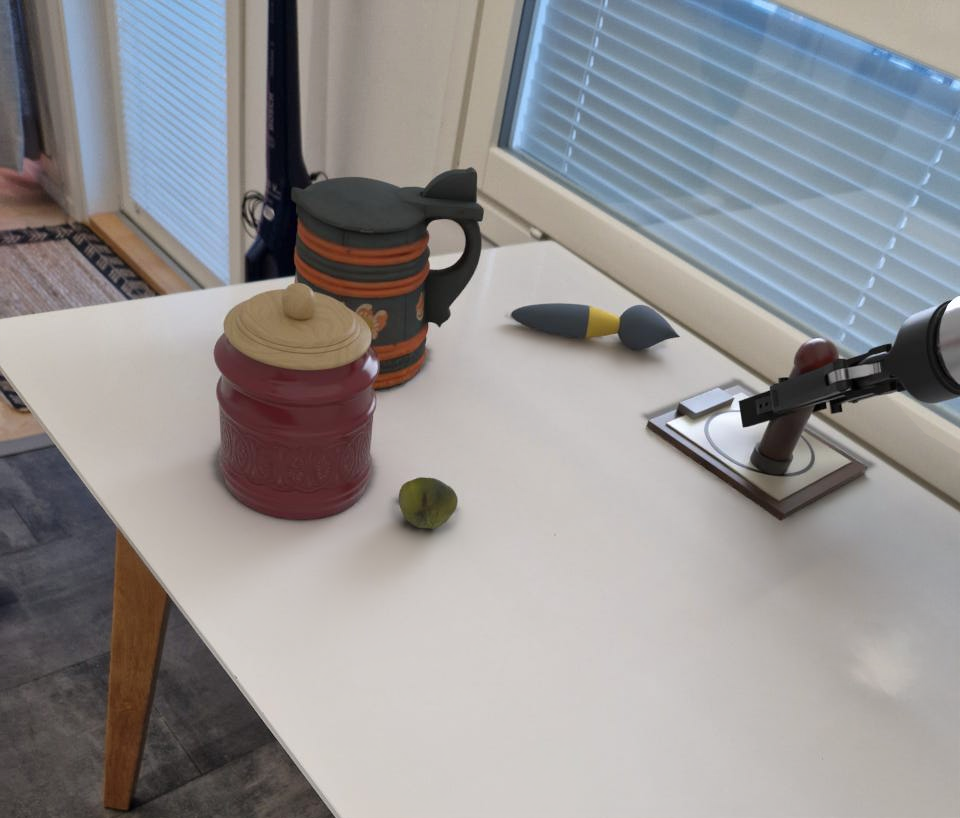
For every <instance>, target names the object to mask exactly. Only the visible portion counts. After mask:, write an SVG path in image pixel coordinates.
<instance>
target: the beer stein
mask: <svg viewBox="0 0 960 818" xmlns="http://www.w3.org/2000/svg"><path fill="white" fill-rule="evenodd" d="M477 193H478V172H477V171H476V169H475V168H474V167H472V166H470V167H468V168H459V169H458V168H455V169H450V170H446V171H443V172H442V173H440V174H438V175H436V176H435V177H433V178H432V179H431V180H430V181H429V182H428V183H427V185H426V186H425V187H421V186H402V187H400V186H397V185H396V184H393V183H389V182H387V181H382V180H378V179H374V178H370V177H364V176H343V177H335V178H328V179H324V180H319V181H317V182H314V183H312V184H309V185H308V186H306V187H305V188H304V189H303V188H299V187H296V186H294V187H292V188H291V190H290V196H291V197H290V199H291V201H292V202H294V203H295V204H296V206H295V213H296V215H297V216H298V217H297V231H296V239H295V246H294V254H293V261H294V265H295V274H294V283H302V284H305V285H307V286H309V287H310V288H311V289H312V290H313V292H317V293H321V294H324V295H327V296H329V297H332V298H334V299H336V300H338V301H339V302H341V303H342V304H344V305H345V306H346V307H347V308H349V309H350V310H352V311H354V312H355V313H356V314H358V315H359V316H360V317H361V318H362V319H363V320H364V321H365V322H366V323H367V325H368V326H369V328H370V331H371V344H370V345H371V346H372V347H373V348H374V350H375V351H376V353H377V355H378V358H379V362H380V369H379V374H378V376H377V378H376V380H375V381H374V383H373V384H372V387H373V389H374V390H377V389H386V388H390V387H393V386H397V385H402V384H403V383H405V382H408V381H409V380H411V379H412V378H414V377H415V376H416V375H417V374H418V373H419V372H420V370H421V368H422V366H423V364H424V362H425V360H426V357H427V356H426V355H427V354H426V353H427V352H426V351H427V350H426V349H427V348H426V344H427V335H428V332H429V324H430V323H432V324H435V325H436V326H437V327H438V328H439V329H441V327H442V325H443V324H444V323H446V322H447V321H448V320H450V317H451V314H452V313H451V309H450V307H451V306H452V305H453V304H454V302H455V301H456V300H457V299H458V298H459V296H460V295H461V294H462V293H463V291H464V290H465V289H466V287H467V286H468V284H470V282H471V279H472V278H473V276H474V274H475V272H476V270H477V269H478V265H479V262H480V258H481V254H482V248H483V247H482V245H483V244H482V243H483V241H482V239H483V238H482V232H481V226H480V223H482V222H483V221H484V214H485V213H484V212H485V209H484V207H483V206H482V205H481V204H480V203H478V195H477ZM440 220H449V221H452V222H455V223H456V224H457V225H459V227H460V228H461V230H462V232H463V234H464V239H465V240H464V241H465V242H464V248H463V252H462V254H461V256H460V257H459V259H457V261H456V262H454V263H453V264H452V265H450V266H447V267H445V268H441V269H440V268H439V269H434V268H433V269H431V263H430V260H429V259H430V256H431V250H430V246H429V245H428V244H429V241H430V238H431V237H430V236H431V235H430V233H429V230H428V226H429V225H430V224H431V223H432V222H434V221H440ZM294 283H293V284H294Z"/></svg>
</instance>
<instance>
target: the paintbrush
mask: <svg viewBox="0 0 960 818" xmlns="http://www.w3.org/2000/svg"><path fill="white" fill-rule="evenodd" d="M510 315H511V318H512V319H513V320H514V321H516V322H517V323H518V324H521V325H523V326H526V327H528V328H530V329H533V330H536V331H540V332H544V333H546V334H552V335H556V336H562V337H566V338H567V337H568V338H577V339H591V338H599V337H605V336H610V335H611V336H612V335H616V334H617V336H618V339H619V341H620V342H621V343H622V344H623V346H625V347H626V348H628V349H630V350H633V351H642V350H646V349H649V348H652V347H654V346H655V345H658V344H660V343H661V342H662V343H663V342H664V341H666V340H671V339H676V338H681V335H679V334H678V333H677V331H676V330H675V329H674V328H673V326H672V324H670V323H669V322H668V320H666V319H665V317H663V316H662V315H661V314H660V313H658V312H657V311H656V310H655V309H653V308H652V307H650V306H648V305H644V304H636V305H632V306H630V307H628V308H627V309H625V311H623V312H622V313H621V315H620V316H618V315H615V314H613V313H611V312H608V311H606V310H603V309H600V308H597V307H594V306H591V305H586V304H579V303H564V302H563V303H562V302H557V303H555V302H554V303H553V302H552V303H537V304H530V305H525V306H521V307H518V308H515V309H514V310H513V311H512V312H511V313H510Z"/></svg>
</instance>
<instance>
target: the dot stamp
mask: <svg viewBox="0 0 960 818" xmlns="http://www.w3.org/2000/svg"><path fill="white" fill-rule="evenodd" d="M836 359H840V353H839V350H838V348H837V346H836V345H835V343H834V342H832V341H831V340H829V339H827V338H822V337H816V338H811V339H809V340H807V341H806V340H805V342H803V343H802V344H801V345H800V346H799V347H798V349H797V350H796V352H795V354H794V357H793V367H792V368H791V371H790V373H789V375H788V377H789V379H792V378H794V377H797V376H800V375H802V374H805V373H808V372H810V371H813V370H816V369H819V368H821V367H824V366H826V365H828V364H829V363H831V362H834V361H835V360H836ZM815 405H816V404H815ZM815 405H812V406H808V407H805V408H801V409H798V410H795V413H793V414H789V415H786V416H783V417H779V418H776V419H773V420H770V421H769V423H768V425H767V427H766V429H765V432H764V434H763V436H762V438H761V441H759V442H757V443H756V444H755V447H754V449H753V451H752V453H751V456H750V461H751V463H752V464H753V465H754V466H755V467H756V468H758V469H759V470H761V471H763V472H765V473H769V474H773V475H781V474H784V473H786V472H787V470H788V468H789V466H790V464H791V462H792V460H793V451H794V449H795V447H796V445H797V443H798V441H799V438H800V436H801V434H802V432H803V430H804V428H806V426H807V424H808V421H809V420H810V418H811V415H812V414H813V413H812V411H813V409H814V407H815Z"/></svg>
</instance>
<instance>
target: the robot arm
mask: <svg viewBox="0 0 960 818" xmlns="http://www.w3.org/2000/svg"><path fill="white" fill-rule="evenodd" d="M902 392H907V393H908V394H909V395H910V396H911V397H913V399H915V400H917V401H919V402H920V403H921V402H922V403H924V404H938V403H943V402H946V401H950V400H953V399H957V398H960V295H958V296H957V297H954V299H950V300H949V299H948V300H946V301H944V302H941V303H938V304H936V305H932V306H931V307H927V308H925V309H922V310H920V311H917V312H915V313H913V314H912V315H910V316H909V317H908V318H907V319H906V320H905V321H904V322H903V323H902V324H901V326H900V328H899V329H898V332H897V334H896V337H895V340H894V342H893V343H891V342H889V343H884V344H880V345H878V346H875V347H872V348H870V349H869V350H868V351H867V352H866V353H863V354H859V355H856V356H853V357H850V358H842V357H841V358H840V357H839V359H836V360H835V361H834V362H831V363H829V364H828V365H826V366H824V367H821V368H819V369H816V370H813V371H810V372H808V373H805V374H802V375H800V376H797V377H794V378H792V379H789V376H785V377H784V376H783V377H779V378H777V383H773V384H772V385H770V386H769V390H767V391H763V392H761V393H757V394H755V395H754V396H752V397H749V398H746V399H743V400H740V401H739V407H740V413H741V420H742V427H743V428H744V427H750V426H753V425H756V424H760V423H763V422H766V421H770V420H773V419H776V418H779V417H783V416H786V415H789V414H793V413H795V410H798V409H801V408H805V407H808V406H812V405H815V404H816V405H815V407H814V409H813V411H812V413H811V414H813V413H817V412H820V411H823V410H827V409H828V406H827V405H829V410H830V415H835V414H839V413H843V404H846V403H848V404H857V403H859V402H860V401H864V400H867V399H871V398H874V397H877V396H878V397H879V396H885V395H891V394H895V393H902Z"/></svg>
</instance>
